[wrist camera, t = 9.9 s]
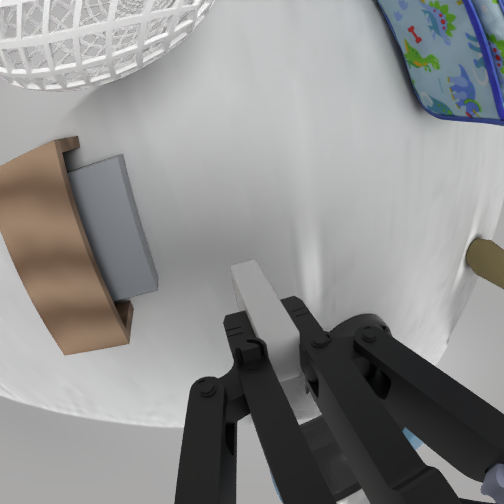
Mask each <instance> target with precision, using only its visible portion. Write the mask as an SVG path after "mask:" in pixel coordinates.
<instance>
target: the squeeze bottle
mask: <svg viewBox="0 0 504 504" xmlns="http://www.w3.org/2000/svg"><path fill="white" fill-rule="evenodd" d="M466 260H467V263H468V264H469V265H470V267H471V268H472V270H473V271H474V272H475V274H477V275H478V276H480V277H482V278H484V279H486V280H488V281H490V282H492V283H493V284H495V285H497V286H499V287H501V288H502V289H504V250H503V249H502V248H501V247H499V246H498V245H497V244H495V243H494V242H493V241H491V240H484V239H476V240H474V241H473V242H472V244H471V245H470V247H469V249H468V253H467V259H466Z"/></svg>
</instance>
